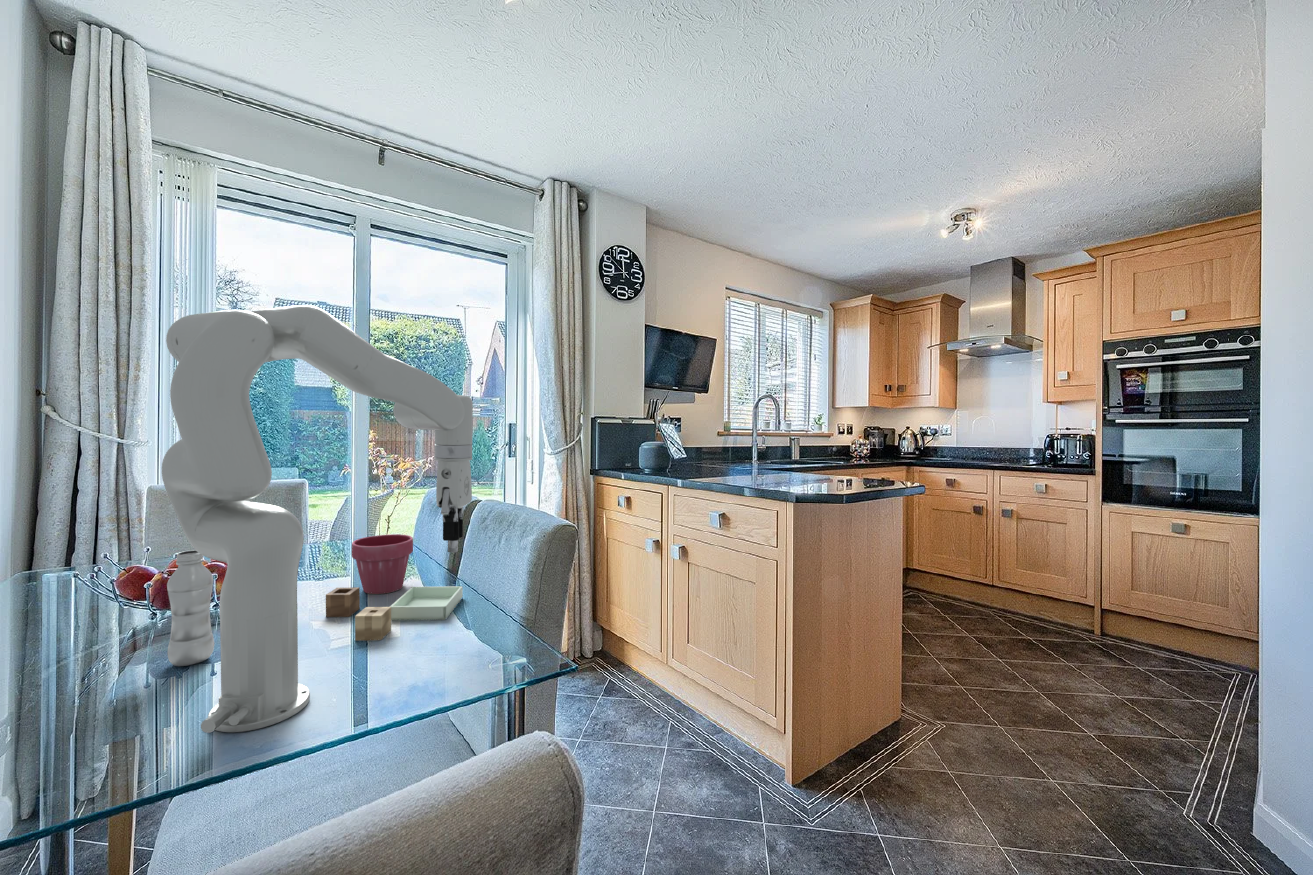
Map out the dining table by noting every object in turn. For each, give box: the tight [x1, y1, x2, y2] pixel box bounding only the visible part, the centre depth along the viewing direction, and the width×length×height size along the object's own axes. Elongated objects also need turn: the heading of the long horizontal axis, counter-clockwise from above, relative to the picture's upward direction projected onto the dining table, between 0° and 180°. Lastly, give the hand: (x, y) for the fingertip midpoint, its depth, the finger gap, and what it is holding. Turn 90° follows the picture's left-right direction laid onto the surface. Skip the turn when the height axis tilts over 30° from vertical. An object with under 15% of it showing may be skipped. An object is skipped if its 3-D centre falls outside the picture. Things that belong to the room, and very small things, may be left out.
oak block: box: [354, 606, 392, 642], centre depth 112 cm, size 5×5×5 cm
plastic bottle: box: [166, 549, 215, 667], centre depth 98 cm, size 6×7×20 cm
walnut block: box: [325, 587, 361, 618], centre depth 124 cm, size 5×5×5 cm
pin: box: [447, 513, 459, 553], centre depth 117 cm, size 2×2×8 cm
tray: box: [389, 585, 464, 621], centre depth 127 cm, size 14×12×3 cm
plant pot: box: [351, 533, 414, 595], centre depth 141 cm, size 14×14×13 cm
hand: (452, 538), depth 117 cm, fingers closed on pin, 2 cm apart
